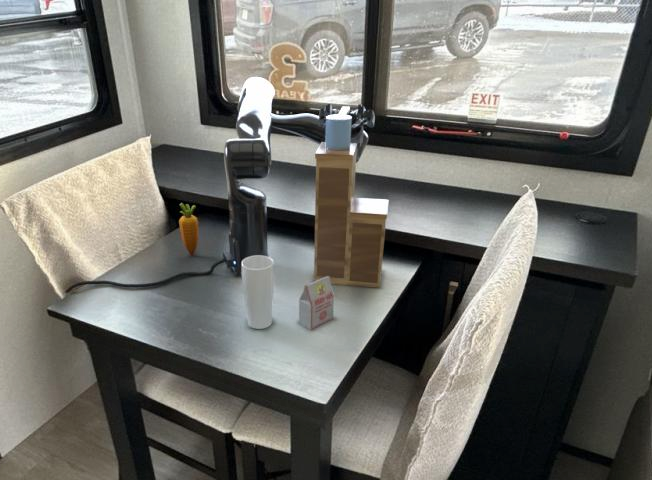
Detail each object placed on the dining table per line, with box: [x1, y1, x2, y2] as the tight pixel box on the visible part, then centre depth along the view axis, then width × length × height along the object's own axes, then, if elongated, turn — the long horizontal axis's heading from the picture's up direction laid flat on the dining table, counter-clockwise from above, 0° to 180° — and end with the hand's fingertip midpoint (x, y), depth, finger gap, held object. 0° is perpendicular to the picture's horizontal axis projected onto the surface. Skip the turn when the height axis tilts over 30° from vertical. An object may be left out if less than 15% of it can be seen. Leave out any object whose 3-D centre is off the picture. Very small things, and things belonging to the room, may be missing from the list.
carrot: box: [178, 202, 199, 257], centre depth 146 cm, size 5×5×15 cm
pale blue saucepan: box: [325, 106, 352, 150], centre depth 127 cm, size 18×6×7 cm, turn 167°
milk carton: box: [298, 276, 335, 331], centre depth 118 cm, size 4×7×10 cm, turn 129°
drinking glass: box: [241, 255, 275, 330], centre depth 116 cm, size 7×7×15 cm
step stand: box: [313, 142, 390, 289], centre depth 130 cm, size 10×16×32 cm, turn 77°
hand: (344, 107), depth 129 cm, fingers open, 6 cm apart
